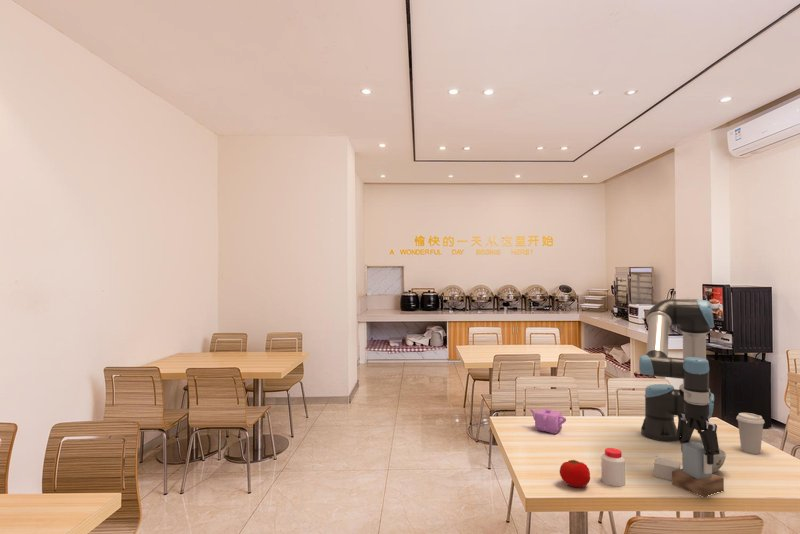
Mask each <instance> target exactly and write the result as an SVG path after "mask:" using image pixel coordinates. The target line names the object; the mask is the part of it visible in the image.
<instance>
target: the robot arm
mask: <svg viewBox="0 0 800 534" xmlns="http://www.w3.org/2000/svg"><path fill="white" fill-rule="evenodd" d="M712 309H713V308H712V305H711V302H710V301H709V300H707V299H706V300H705V299H704V300H703V299H698V298H697V299H694V298H693V299H689V298H688V299H682V298H681V299H680V298H679V299H678V298H677V299H676V298H675V299H674V298H673V299H672V298H668V299H664V300H660V301H659V302H657V303H656V304H654V305H653V306H652V307H651V308H650V309H649V310H648V312H647V313H646V324H647V326H648V327H647V329H648V330H647V337H646V338H647V341H646V351H645V352H646V354H644V355H640V356H639V359H638V360H639V361H638V365H639V366H638V367H639V368H638V369H639V373H640V374H641V375H645V376H651V377H660V378H661V377H662V378H672V379H681V380H682V381H683V382H682V383H681V384H680V385H679V387H678V388H679V389H678V388H677V389H676V388H675V387H674V385H672V384H667V383H658V384H657V383H656V384H650V385H648V386H646V387H645V389H644V392H645V394H644V398H645V399H644V401H645V403H644V404H645V405H644V407H645V409H644V410H645V411H644V419H643V423H642V425H641V429H640V433H641V435H642V436H644V437H645V438H648V439H652V440H656V441H660V442H661V441H662V442H676V441H679V443H680V444H681V452H682V443H689V442H690V440H691V438H692V435H693V434H694V430H696V432H697V433H698V435H699V436H700V439H701V444H703V446H704V449H705V452H706V453H704V473H705V474H709V473H712V464H713V463H714V462H713V461H714V455H718V454H720V453H719V449H720V448H719V441H718V440H719V439H718V433H717V429H718V425H717V424H715V423H711V422H710V419H711V418H712V416H713V413H714V406H715V404H714V403H715V395H714V393H712V392H711V388H710V364H709V360H708V359H707V335H708V334H709V333H711V329H712V328H715V323H714V322H715V320H714V315H713V310H712ZM671 326H674V327H675V326H678V330H679V331H680V332H681V334H682V358H681V357H680V358H679V357H671V356H670V357H669V331H670V329H669V328H670V327H671ZM675 416H677V420H678V421H677V426H676V422H675ZM709 450H710V451H709ZM712 474H713V473H712Z"/></svg>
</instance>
